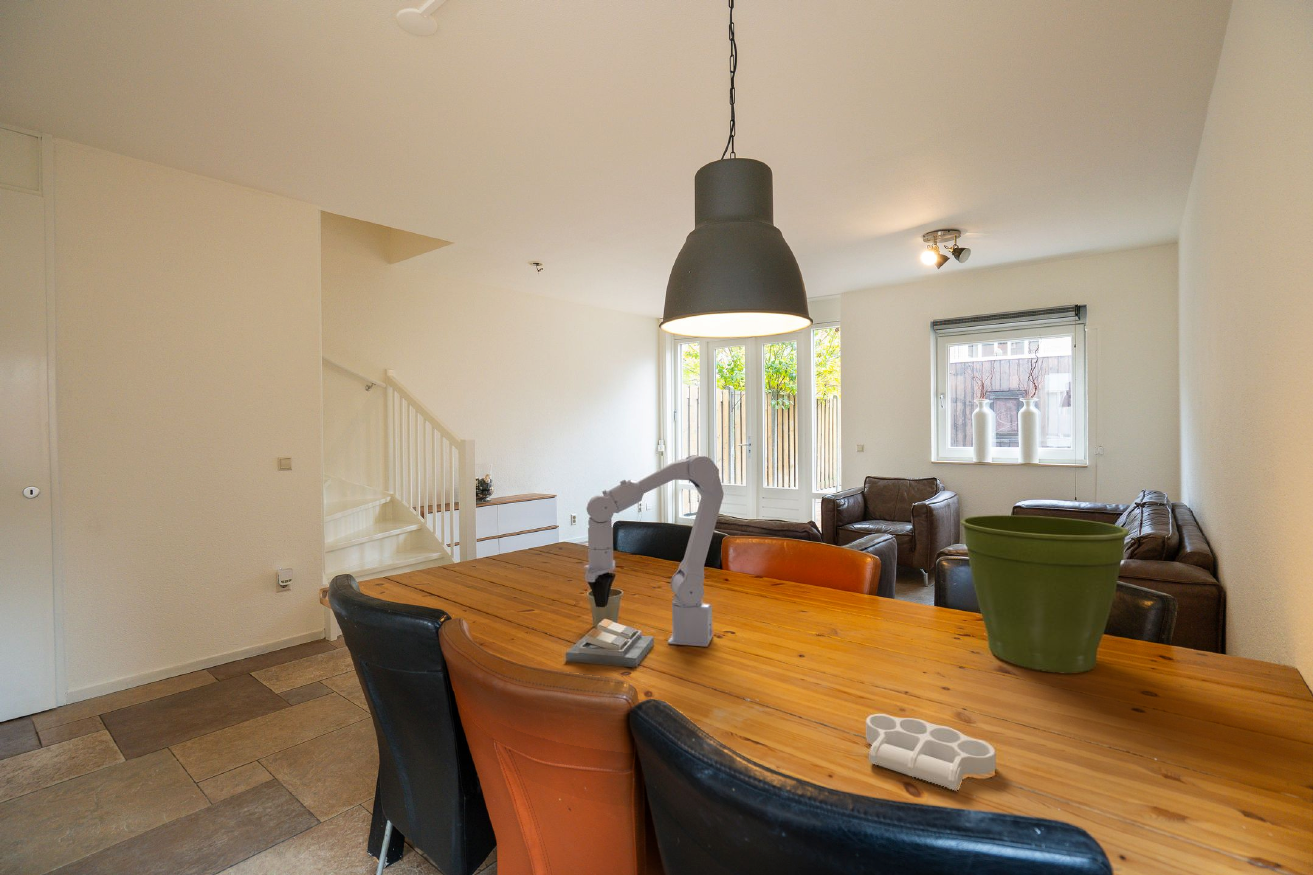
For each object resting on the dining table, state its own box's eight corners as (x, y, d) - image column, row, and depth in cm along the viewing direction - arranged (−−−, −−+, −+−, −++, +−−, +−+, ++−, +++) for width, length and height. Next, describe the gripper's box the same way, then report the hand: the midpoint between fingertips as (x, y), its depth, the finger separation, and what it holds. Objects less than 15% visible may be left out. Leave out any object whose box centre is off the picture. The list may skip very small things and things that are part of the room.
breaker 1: (625, 645, 131) (626, 638, 131) (618, 652, 127) (620, 645, 127) (592, 634, 133) (593, 627, 133) (584, 641, 129) (586, 634, 129)
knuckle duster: (847, 762, 88) (878, 724, 99) (984, 808, 76) (1002, 759, 88) (846, 739, 88) (878, 704, 99) (983, 782, 76) (1001, 736, 88)
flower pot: (622, 631, 148) (621, 597, 148) (584, 632, 148) (584, 597, 148) (625, 620, 157) (624, 587, 157) (589, 620, 157) (589, 588, 158)
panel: (653, 645, 138) (653, 631, 138) (636, 667, 124) (635, 652, 124) (589, 640, 142) (589, 626, 142) (565, 661, 129) (565, 646, 129)
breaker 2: (634, 635, 138) (636, 628, 138) (628, 642, 133) (630, 635, 133) (603, 625, 140) (604, 618, 140) (596, 631, 136) (597, 624, 135)
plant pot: (962, 671, 120) (960, 529, 120) (963, 628, 146) (961, 512, 146) (1149, 699, 106) (1146, 539, 106) (1113, 646, 132) (1111, 518, 132)
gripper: (595, 541, 146) (596, 596, 146) (572, 552, 132) (573, 613, 132) (623, 542, 144) (623, 598, 144) (602, 554, 130) (603, 615, 130)
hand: (601, 606), depth 138 cm, fingers closed
